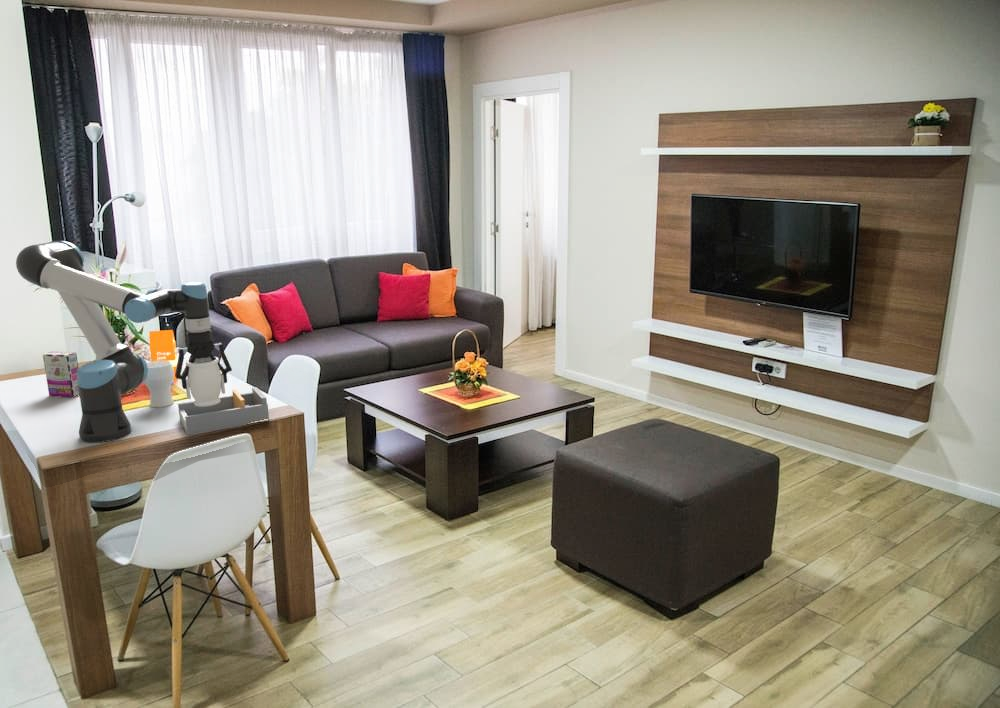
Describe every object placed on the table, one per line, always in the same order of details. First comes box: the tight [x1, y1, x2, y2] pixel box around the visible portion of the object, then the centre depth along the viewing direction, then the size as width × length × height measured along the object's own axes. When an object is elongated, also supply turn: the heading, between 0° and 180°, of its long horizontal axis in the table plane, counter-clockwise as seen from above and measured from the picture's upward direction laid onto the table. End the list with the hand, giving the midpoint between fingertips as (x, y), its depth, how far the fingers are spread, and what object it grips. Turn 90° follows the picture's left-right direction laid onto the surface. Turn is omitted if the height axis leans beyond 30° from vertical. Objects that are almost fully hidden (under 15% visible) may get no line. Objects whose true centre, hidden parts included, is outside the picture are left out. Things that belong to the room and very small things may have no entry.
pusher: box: [231, 389, 249, 408], centre depth 277 cm, size 4×14×7 cm, turn 29°
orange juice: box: [148, 329, 179, 382], centre depth 323 cm, size 8×9×20 cm
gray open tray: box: [177, 386, 270, 436], centre depth 274 cm, size 26×17×8 cm, turn 119°
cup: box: [143, 361, 174, 408], centre depth 292 cm, size 11×11×15 cm
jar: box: [185, 356, 222, 407], centre depth 269 cm, size 11×10×15 cm
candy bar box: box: [42, 351, 80, 398], centre depth 304 cm, size 11×5×16 cm, turn 76°
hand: (206, 395), depth 270 cm, fingers closed on jar, 10 cm apart
